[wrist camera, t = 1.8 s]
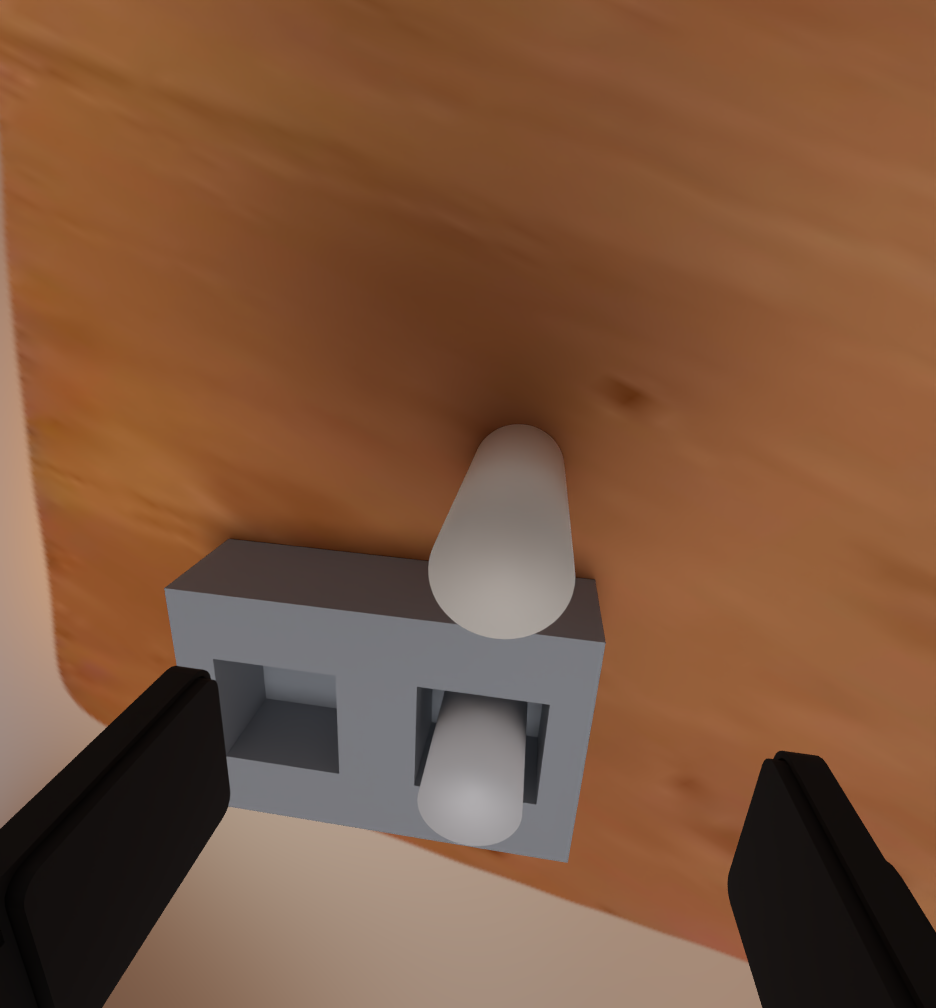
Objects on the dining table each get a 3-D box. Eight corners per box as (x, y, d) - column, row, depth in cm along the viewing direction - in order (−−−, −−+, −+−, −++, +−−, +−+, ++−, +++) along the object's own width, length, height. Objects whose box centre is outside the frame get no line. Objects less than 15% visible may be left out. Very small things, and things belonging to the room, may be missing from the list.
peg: (476, 420, 24) (430, 500, 15) (570, 428, 23) (584, 516, 14) (470, 506, 25) (426, 629, 16) (559, 515, 25) (565, 647, 16)
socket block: (228, 538, 28) (111, 628, 20) (594, 579, 26) (614, 695, 18) (249, 727, 32) (159, 859, 24) (564, 774, 30) (570, 932, 23)
